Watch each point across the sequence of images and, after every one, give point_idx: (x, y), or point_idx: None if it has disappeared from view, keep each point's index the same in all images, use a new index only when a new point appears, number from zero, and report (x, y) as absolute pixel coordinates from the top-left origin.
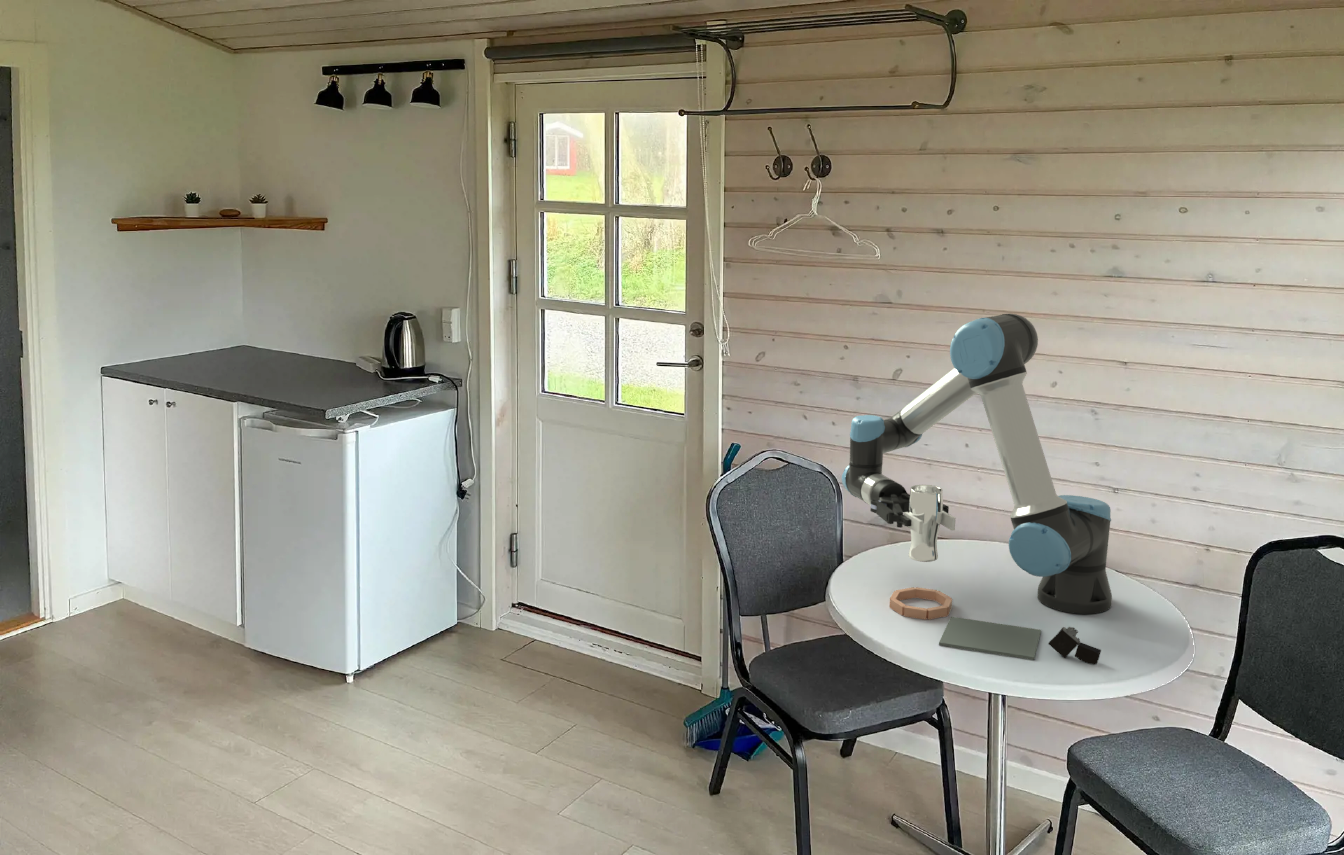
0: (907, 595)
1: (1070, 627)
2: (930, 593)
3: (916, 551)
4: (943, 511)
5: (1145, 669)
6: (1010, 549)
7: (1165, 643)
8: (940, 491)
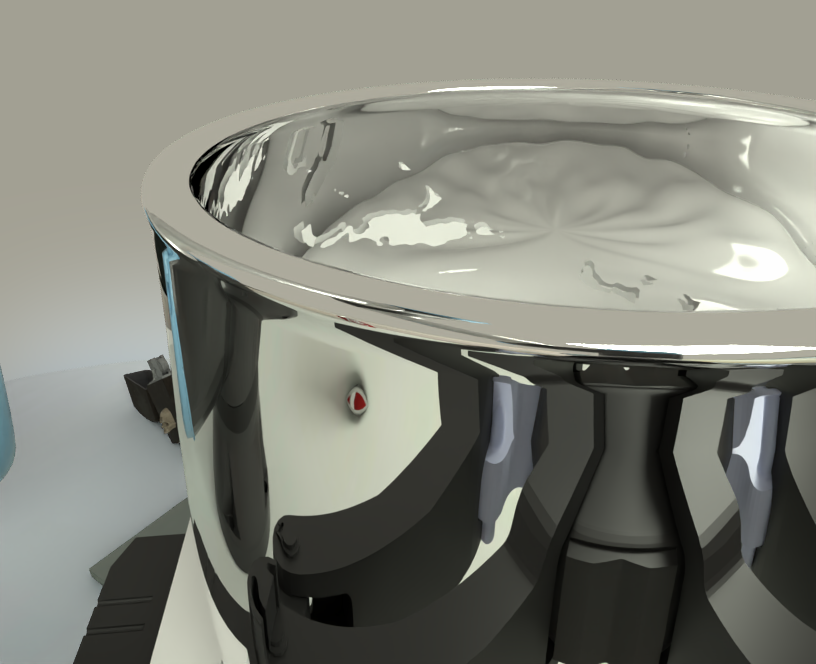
0: None
1: (162, 357)
2: None
3: None
4: (194, 558)
5: (68, 373)
6: (8, 407)
7: None
8: (339, 92)
